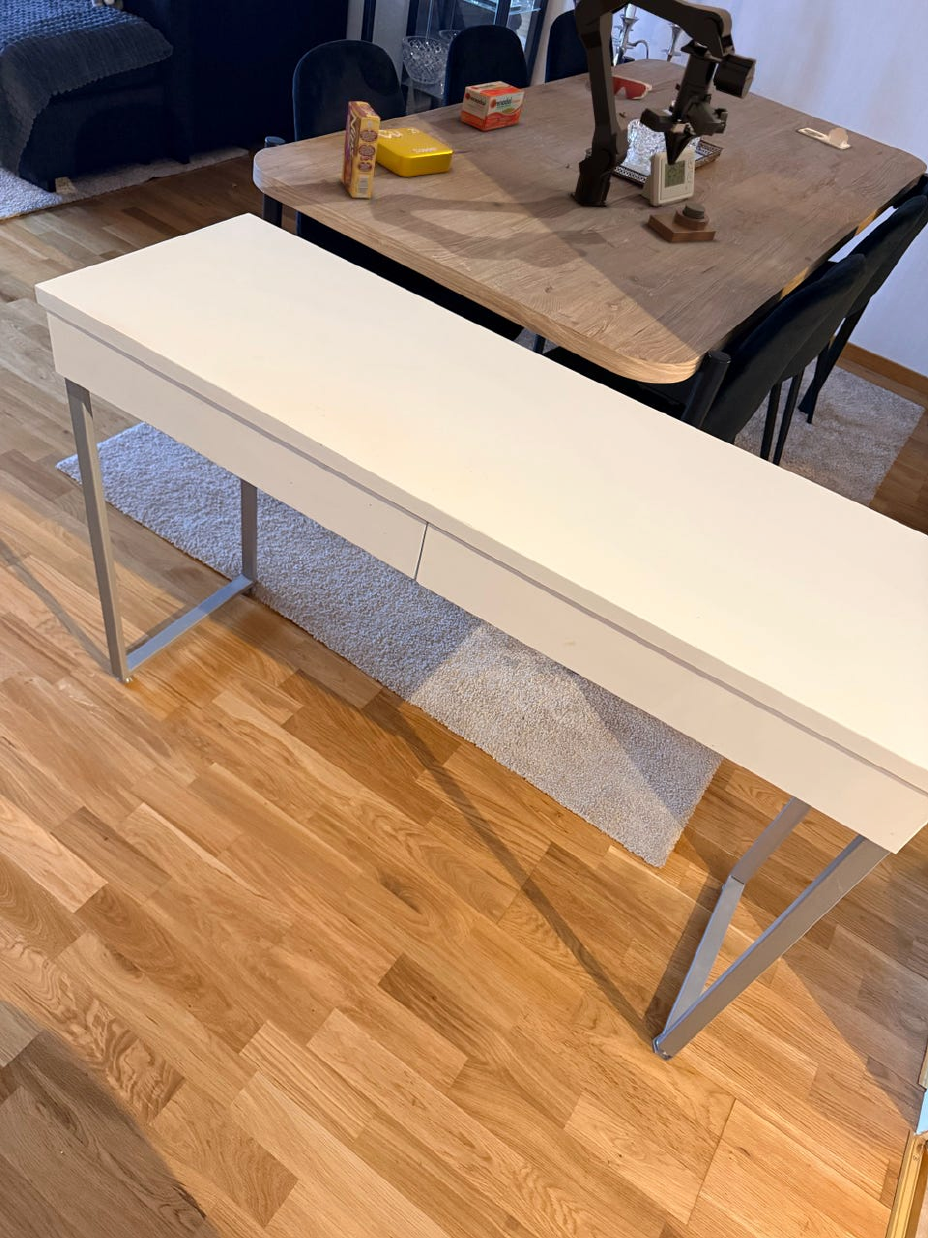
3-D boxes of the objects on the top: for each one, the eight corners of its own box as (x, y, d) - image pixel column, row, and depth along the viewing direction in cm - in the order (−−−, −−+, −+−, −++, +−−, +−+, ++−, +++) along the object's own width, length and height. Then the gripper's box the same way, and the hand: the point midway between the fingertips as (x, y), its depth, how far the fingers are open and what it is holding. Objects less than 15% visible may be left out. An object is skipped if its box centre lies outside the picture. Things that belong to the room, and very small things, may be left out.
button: (690, 220, 199) (694, 210, 198) (678, 211, 202) (682, 202, 200) (706, 219, 201) (709, 210, 200) (694, 211, 204) (697, 201, 202)
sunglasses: (593, 89, 272) (597, 70, 269) (593, 86, 286) (597, 67, 284) (649, 103, 272) (654, 84, 270) (647, 99, 286) (652, 81, 284)
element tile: (401, 178, 196) (404, 154, 193) (359, 151, 203) (361, 128, 200) (453, 171, 205) (457, 148, 201) (411, 145, 212) (414, 123, 208)
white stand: (849, 146, 279) (856, 131, 276) (840, 149, 275) (847, 133, 272) (807, 128, 285) (813, 113, 282) (797, 131, 281) (804, 115, 278)
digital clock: (651, 208, 210) (667, 160, 203) (626, 192, 215) (640, 144, 208) (700, 204, 218) (717, 157, 211) (675, 189, 223) (690, 142, 216)
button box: (670, 242, 198) (677, 223, 195) (647, 224, 203) (652, 206, 200) (712, 240, 203) (719, 222, 200) (688, 222, 208) (694, 204, 205)
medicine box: (494, 113, 240) (500, 79, 234) (518, 124, 237) (525, 90, 232) (458, 121, 230) (464, 86, 225) (484, 132, 228) (490, 97, 222)
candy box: (372, 199, 186) (381, 118, 175) (352, 198, 184) (359, 116, 174) (360, 181, 191) (368, 101, 181) (340, 180, 190) (347, 99, 179)
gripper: (683, 95, 174) (657, 180, 185) (755, 98, 182) (726, 179, 193) (650, 75, 181) (626, 158, 191) (721, 79, 189) (695, 158, 199)
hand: (670, 164), depth 194 cm, fingers closed
